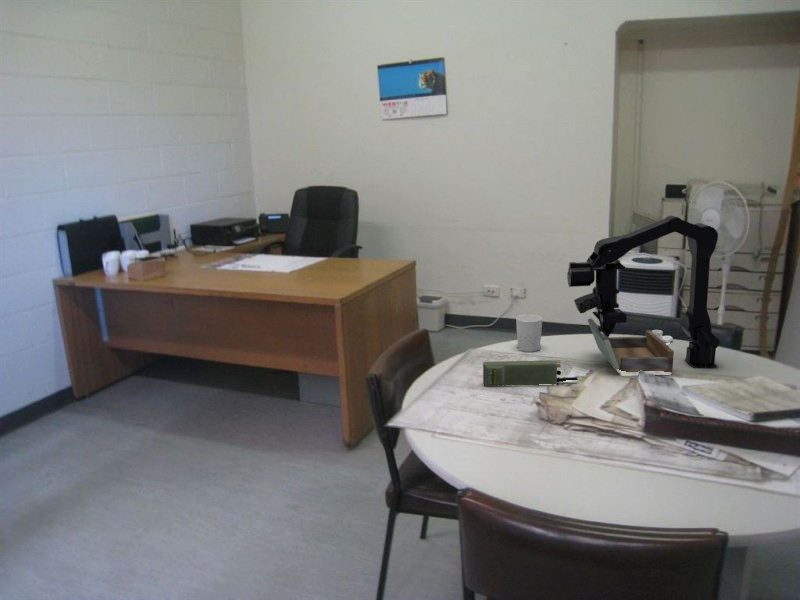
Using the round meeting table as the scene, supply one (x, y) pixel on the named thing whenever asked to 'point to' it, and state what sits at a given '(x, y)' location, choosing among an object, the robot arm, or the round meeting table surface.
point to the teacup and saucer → (663, 338)
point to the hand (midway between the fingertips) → (605, 338)
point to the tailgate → (603, 343)
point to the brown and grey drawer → (642, 353)
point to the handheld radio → (522, 373)
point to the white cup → (529, 332)
